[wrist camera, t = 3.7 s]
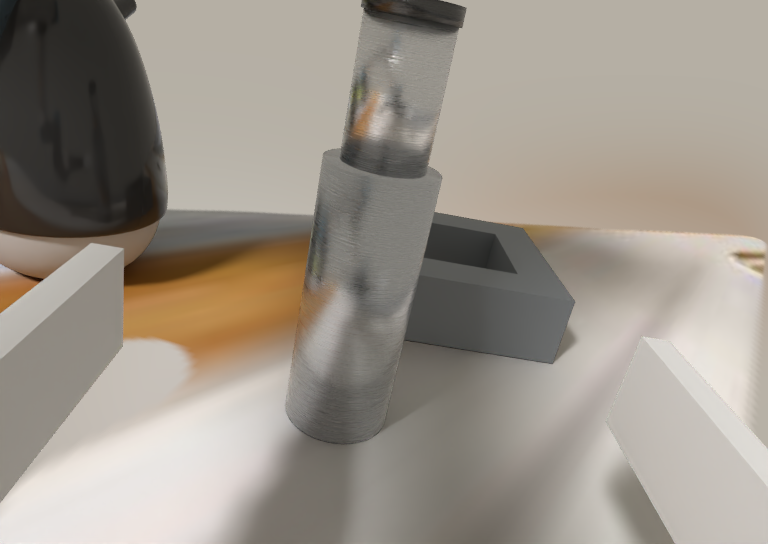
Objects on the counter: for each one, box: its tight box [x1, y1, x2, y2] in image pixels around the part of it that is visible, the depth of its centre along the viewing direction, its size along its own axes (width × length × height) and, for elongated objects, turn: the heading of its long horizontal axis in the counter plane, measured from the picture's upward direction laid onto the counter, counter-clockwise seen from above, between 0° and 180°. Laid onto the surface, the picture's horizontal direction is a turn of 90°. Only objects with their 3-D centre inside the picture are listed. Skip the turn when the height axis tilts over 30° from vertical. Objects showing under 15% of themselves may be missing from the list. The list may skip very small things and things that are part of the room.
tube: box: [286, 0, 466, 444], centre depth 22 cm, size 4×4×17 cm
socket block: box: [404, 212, 575, 364], centre depth 37 cm, size 12×12×4 cm
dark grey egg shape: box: [0, 0, 168, 279], centre depth 30 cm, size 10×10×15 cm
